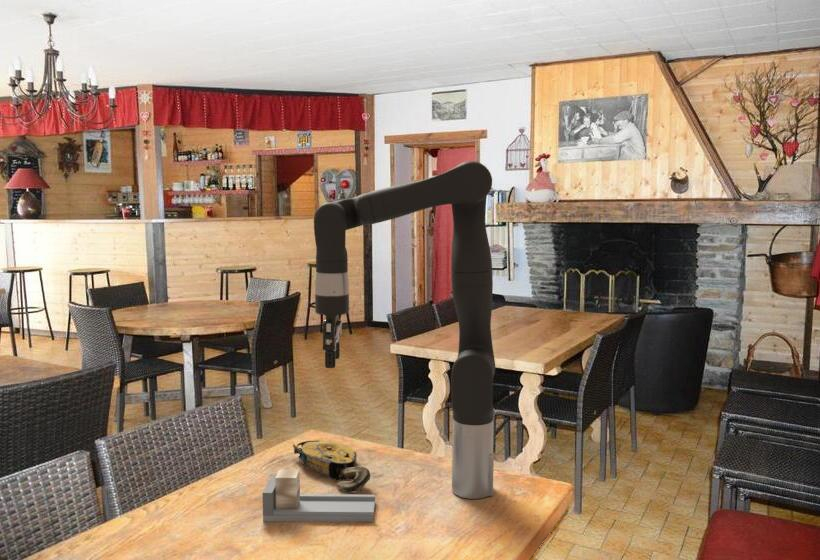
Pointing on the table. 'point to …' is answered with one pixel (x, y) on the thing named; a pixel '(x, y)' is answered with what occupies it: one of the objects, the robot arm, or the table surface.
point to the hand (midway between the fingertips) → (332, 363)
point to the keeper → (287, 489)
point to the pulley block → (334, 463)
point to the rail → (319, 507)
